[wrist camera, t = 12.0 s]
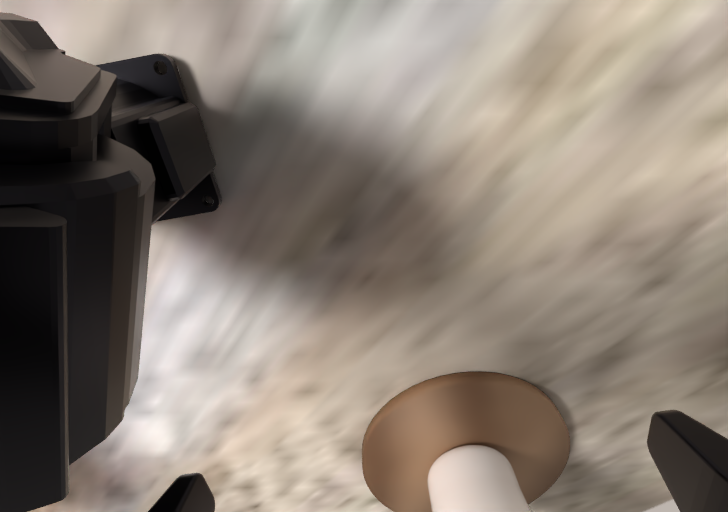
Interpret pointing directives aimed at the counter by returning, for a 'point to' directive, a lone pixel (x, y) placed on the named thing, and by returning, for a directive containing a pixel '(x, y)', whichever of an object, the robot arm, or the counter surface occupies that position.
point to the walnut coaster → (462, 435)
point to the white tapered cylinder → (474, 482)
